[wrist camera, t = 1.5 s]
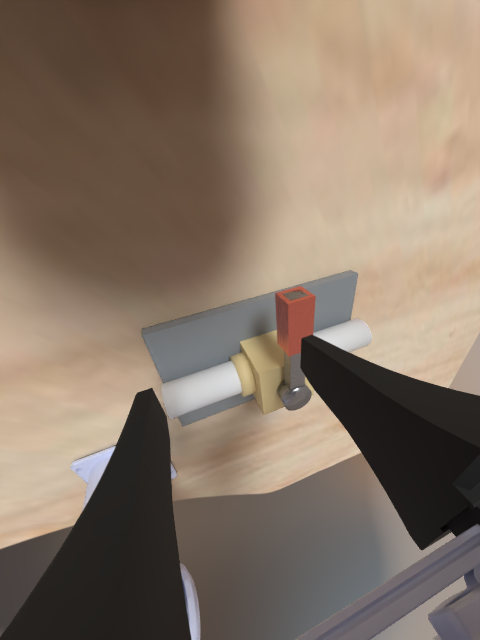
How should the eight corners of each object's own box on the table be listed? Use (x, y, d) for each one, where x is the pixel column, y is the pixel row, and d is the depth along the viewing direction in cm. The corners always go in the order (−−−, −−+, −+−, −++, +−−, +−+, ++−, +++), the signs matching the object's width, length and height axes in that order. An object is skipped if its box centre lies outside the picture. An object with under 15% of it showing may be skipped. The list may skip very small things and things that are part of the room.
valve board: (337, 359, 29) (371, 391, 25) (181, 418, 25) (189, 470, 21) (350, 270, 23) (400, 291, 18) (142, 329, 18) (141, 375, 14)
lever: (301, 390, 20) (311, 404, 19) (276, 400, 20) (285, 415, 19) (304, 284, 15) (320, 294, 13) (270, 294, 14) (283, 305, 13)
